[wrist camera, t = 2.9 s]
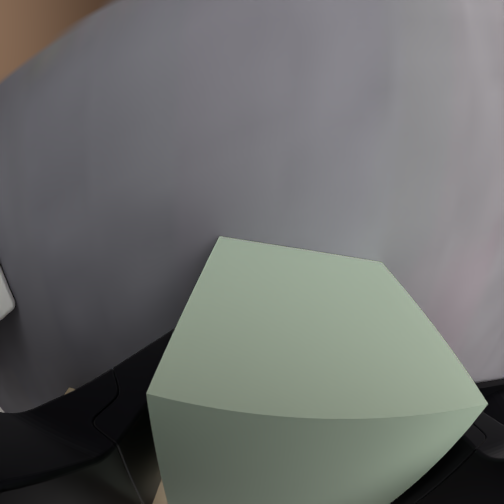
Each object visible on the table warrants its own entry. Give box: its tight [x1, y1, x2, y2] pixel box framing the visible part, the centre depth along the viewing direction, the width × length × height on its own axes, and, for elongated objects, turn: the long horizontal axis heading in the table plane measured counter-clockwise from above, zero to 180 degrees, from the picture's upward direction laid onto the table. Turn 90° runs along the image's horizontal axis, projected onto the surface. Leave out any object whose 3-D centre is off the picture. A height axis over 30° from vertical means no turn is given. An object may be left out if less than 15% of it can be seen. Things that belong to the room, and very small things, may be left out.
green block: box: [146, 236, 488, 504], centre depth 7 cm, size 5×5×6 cm
